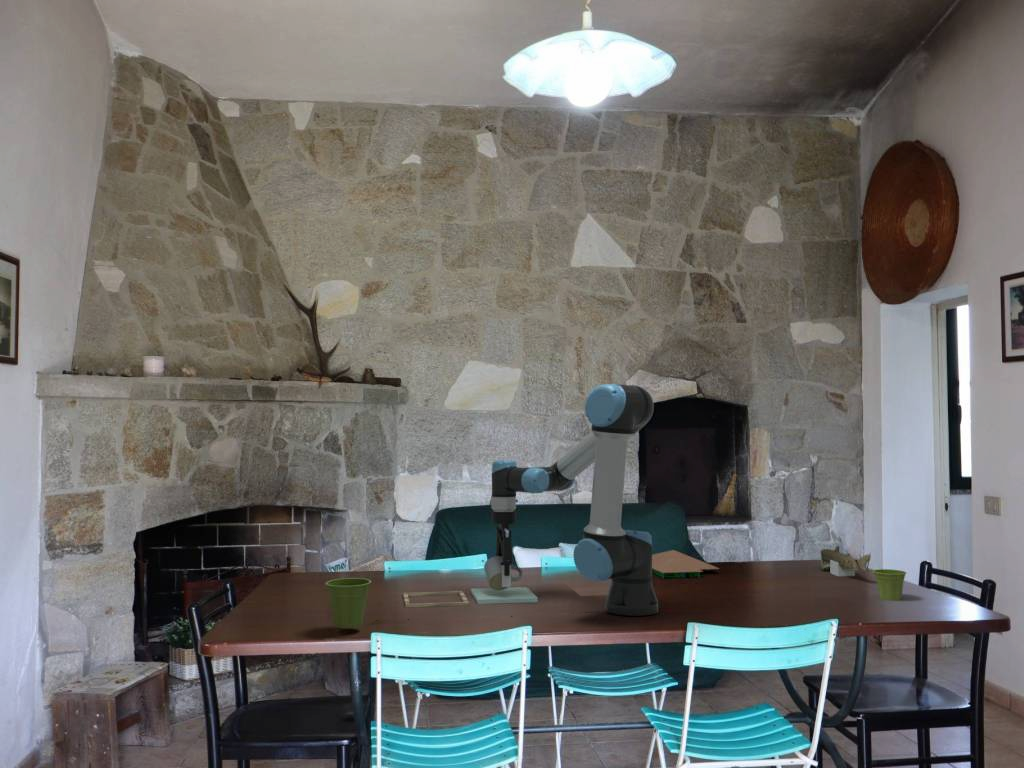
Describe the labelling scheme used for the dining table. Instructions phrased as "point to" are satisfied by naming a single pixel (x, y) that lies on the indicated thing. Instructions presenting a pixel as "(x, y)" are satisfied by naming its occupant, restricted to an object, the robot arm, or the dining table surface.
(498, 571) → the ceramic mug
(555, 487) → the robot arm
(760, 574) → the dining table surface
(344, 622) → the plant pot
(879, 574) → the plant pot
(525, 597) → the sage board
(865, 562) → the wood carving
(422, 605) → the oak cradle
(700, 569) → the tan flat piece
